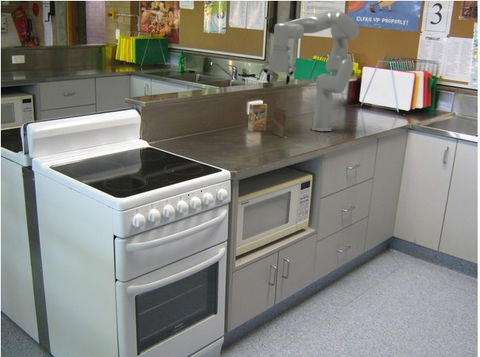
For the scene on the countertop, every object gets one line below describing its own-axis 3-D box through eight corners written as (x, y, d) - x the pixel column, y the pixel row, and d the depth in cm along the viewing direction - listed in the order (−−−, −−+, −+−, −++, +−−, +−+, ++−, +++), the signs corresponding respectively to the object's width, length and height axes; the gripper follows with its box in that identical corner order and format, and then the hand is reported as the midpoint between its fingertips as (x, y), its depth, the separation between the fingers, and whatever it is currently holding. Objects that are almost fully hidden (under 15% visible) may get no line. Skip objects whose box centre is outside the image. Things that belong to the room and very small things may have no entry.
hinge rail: (276, 135, 276) (276, 132, 276) (287, 139, 266) (287, 137, 266) (274, 135, 275) (274, 132, 275) (285, 139, 266) (285, 137, 266)
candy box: (251, 133, 275) (253, 104, 270) (247, 132, 278) (249, 103, 274) (265, 133, 279) (267, 104, 275) (261, 131, 283) (263, 103, 278)
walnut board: (274, 133, 274) (276, 106, 270) (284, 137, 266) (286, 110, 262) (272, 133, 274) (274, 106, 270) (281, 137, 265) (284, 110, 261)
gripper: (298, 49, 265) (295, 83, 270) (264, 47, 268) (262, 81, 274) (296, 50, 258) (293, 85, 263) (262, 48, 261) (259, 82, 267)
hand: (277, 83), depth 268 cm, fingers open, 9 cm apart
